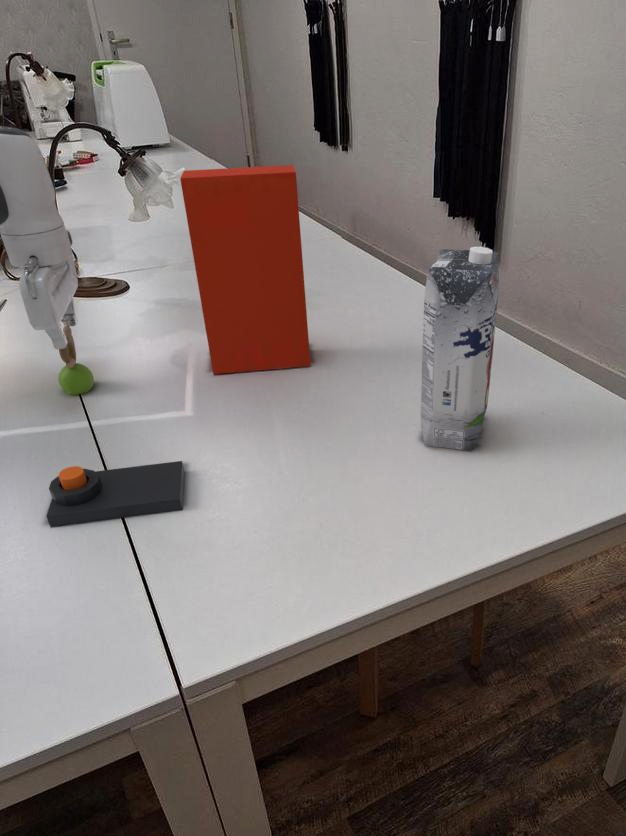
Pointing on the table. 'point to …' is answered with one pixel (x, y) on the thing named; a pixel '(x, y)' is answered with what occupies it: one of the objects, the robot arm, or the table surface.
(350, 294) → the table surface
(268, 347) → the file binder
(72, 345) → the snail figurine
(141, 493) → the orange push button base
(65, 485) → the button
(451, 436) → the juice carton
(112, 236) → the table surface
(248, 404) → the table surface
